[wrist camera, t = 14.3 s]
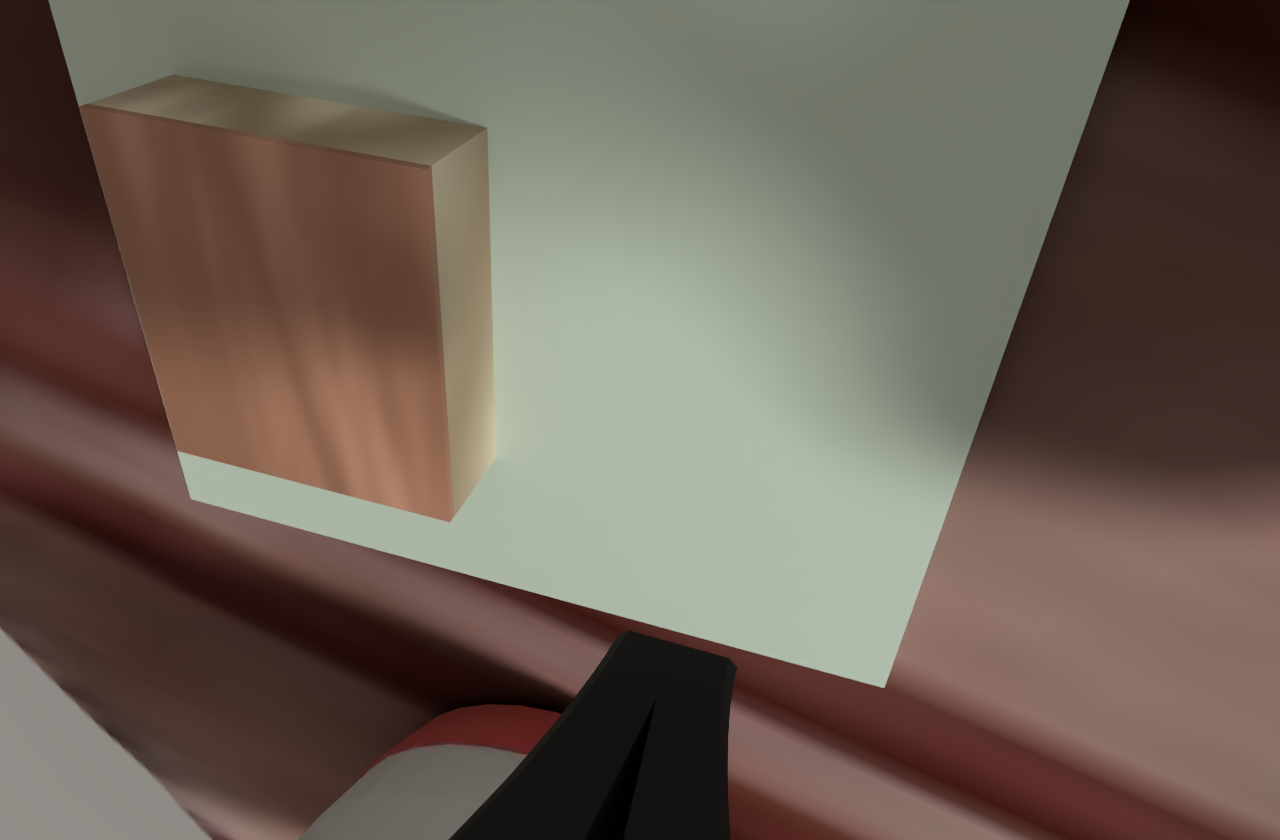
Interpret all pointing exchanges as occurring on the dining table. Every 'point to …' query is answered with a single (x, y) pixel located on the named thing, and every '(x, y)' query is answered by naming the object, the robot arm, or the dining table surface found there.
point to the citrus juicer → (435, 776)
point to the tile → (309, 284)
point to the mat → (695, 277)
